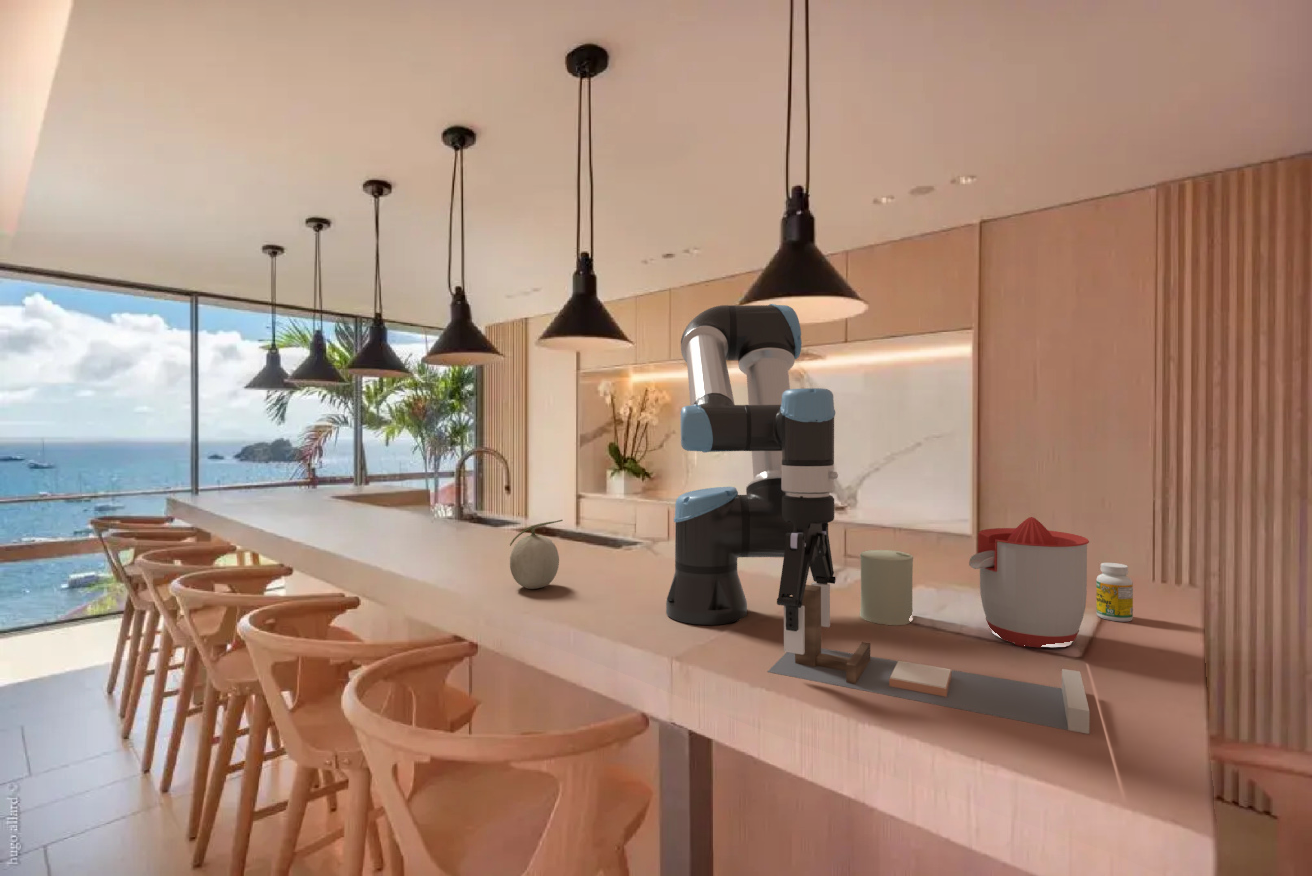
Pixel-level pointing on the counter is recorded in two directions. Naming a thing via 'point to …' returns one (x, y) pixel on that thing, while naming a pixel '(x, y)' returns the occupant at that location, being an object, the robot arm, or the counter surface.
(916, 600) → the counter surface
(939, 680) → the tile
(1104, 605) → the supplement bottle
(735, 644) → the counter surface
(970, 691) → the grey board
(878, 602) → the can
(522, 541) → the fruit
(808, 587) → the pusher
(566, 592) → the counter surface
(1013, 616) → the citrus juicer
